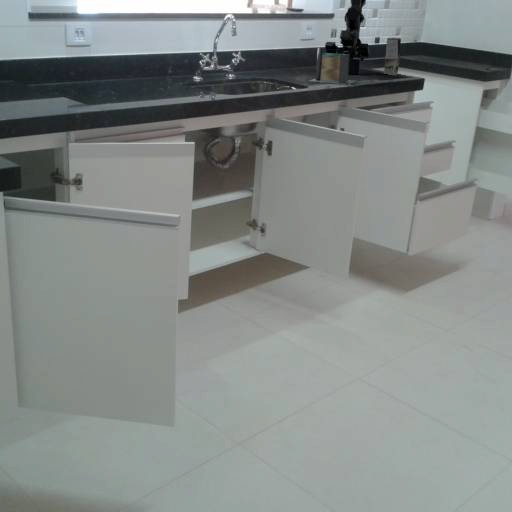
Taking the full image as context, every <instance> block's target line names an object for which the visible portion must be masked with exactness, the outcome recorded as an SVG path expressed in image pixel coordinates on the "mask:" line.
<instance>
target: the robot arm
mask: <svg viewBox="0 0 512 512" xmlns="http://www.w3.org/2000/svg"><path fill="white" fill-rule="evenodd" d="M366 1H367V0H350V4H351V5H350V7H348V9H347V12H346V13H345V14H344V22H345V26H346V27H345V29H341V30H340V35H339V39H340V43H338V44H336V41H326V42H325V45H324V48H325V49H324V50H325V53H332V54H347V55H349V69H348V75H350V76H351V75H362V72H360V64H361V63H360V62H363V61H364V59H365V58H368V57H370V54H371V49H370V45H369V43H362V41H361V39H360V33H361V31H360V30H361V24H362V23H363V22H364V20H365V15H364V14H363V8H364V6H365V5H366V3H367V2H366Z"/></svg>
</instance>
